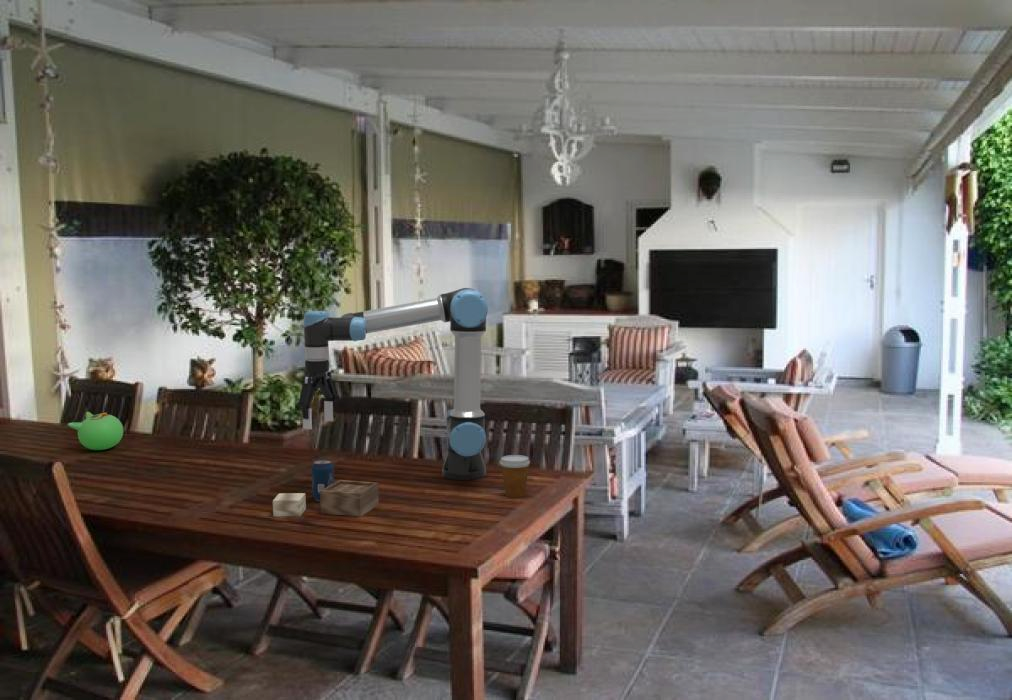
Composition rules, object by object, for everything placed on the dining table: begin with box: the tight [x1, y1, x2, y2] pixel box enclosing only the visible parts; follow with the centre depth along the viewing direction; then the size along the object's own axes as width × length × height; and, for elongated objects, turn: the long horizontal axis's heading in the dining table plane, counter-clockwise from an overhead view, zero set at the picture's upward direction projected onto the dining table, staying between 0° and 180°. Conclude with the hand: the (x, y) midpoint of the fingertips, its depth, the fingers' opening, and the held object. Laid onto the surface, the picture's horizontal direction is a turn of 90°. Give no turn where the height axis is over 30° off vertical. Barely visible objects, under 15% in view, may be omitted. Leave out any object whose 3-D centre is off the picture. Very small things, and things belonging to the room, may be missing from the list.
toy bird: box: [67, 411, 124, 451], centre depth 373 cm, size 18×17×15 cm
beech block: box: [272, 492, 307, 517], centre depth 287 cm, size 8×8×5 cm
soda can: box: [311, 459, 335, 502], centre depth 301 cm, size 7×7×12 cm
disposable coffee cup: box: [499, 454, 531, 498], centre depth 303 cm, size 10×10×12 cm
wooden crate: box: [319, 479, 380, 518], centre depth 290 cm, size 13×13×7 cm
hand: (318, 424), depth 309 cm, fingers open, 13 cm apart
